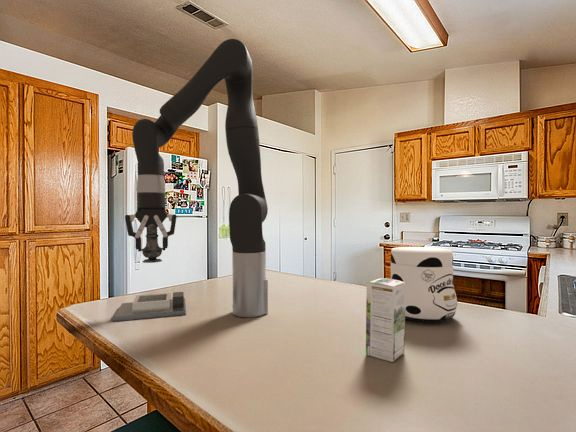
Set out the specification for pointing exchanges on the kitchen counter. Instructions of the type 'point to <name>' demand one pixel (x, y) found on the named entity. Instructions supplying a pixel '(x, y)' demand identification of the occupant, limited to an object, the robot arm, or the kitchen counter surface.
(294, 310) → the kitchen counter surface
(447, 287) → the milk container
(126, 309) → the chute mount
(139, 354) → the kitchen counter surface
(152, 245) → the grey chess piece
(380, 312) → the syrup box
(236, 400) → the kitchen counter surface
